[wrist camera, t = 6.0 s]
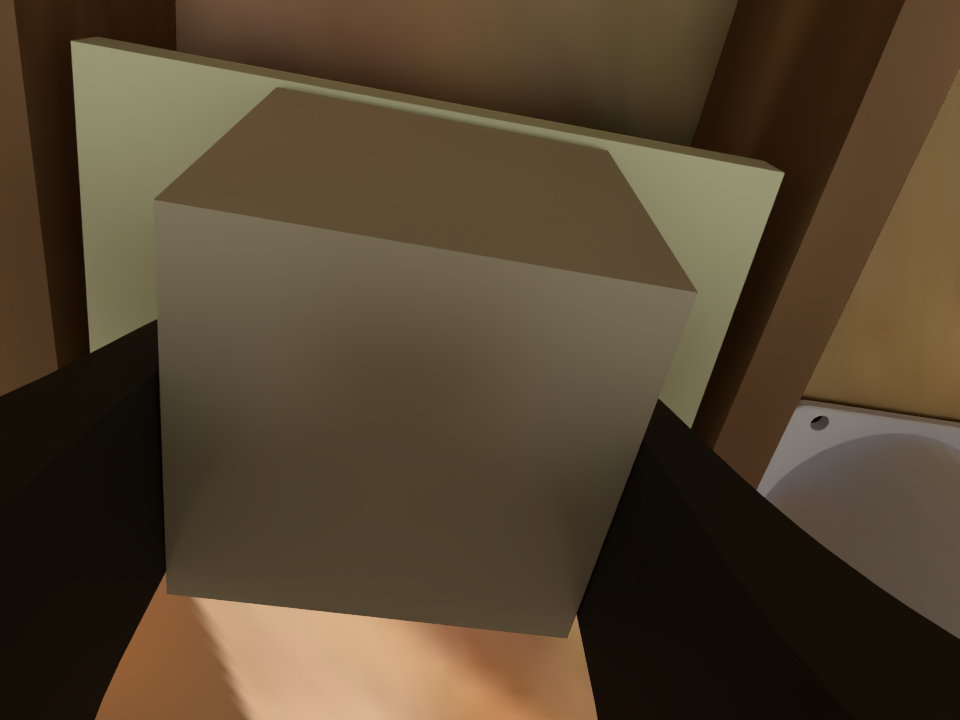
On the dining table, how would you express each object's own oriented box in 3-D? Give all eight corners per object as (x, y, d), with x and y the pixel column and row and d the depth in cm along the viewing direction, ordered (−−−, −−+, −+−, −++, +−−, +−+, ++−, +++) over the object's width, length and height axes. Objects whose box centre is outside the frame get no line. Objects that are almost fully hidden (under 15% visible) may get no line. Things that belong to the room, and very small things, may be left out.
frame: (853, -165, 15) (1131, -231, 9) (642, 422, 22) (712, 612, 16) (97, -349, 13) (-216, -588, 7) (137, 350, 20) (-2, 532, 14)
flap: (763, 161, 13) (785, 173, 12) (649, 487, 16) (659, 514, 15) (97, 37, 11) (70, 40, 11) (114, 416, 15) (95, 442, 14)
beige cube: (608, 150, 11) (698, 292, 7) (533, 414, 14) (566, 638, 9) (276, 87, 11) (153, 199, 6) (262, 374, 13) (166, 594, 9)
